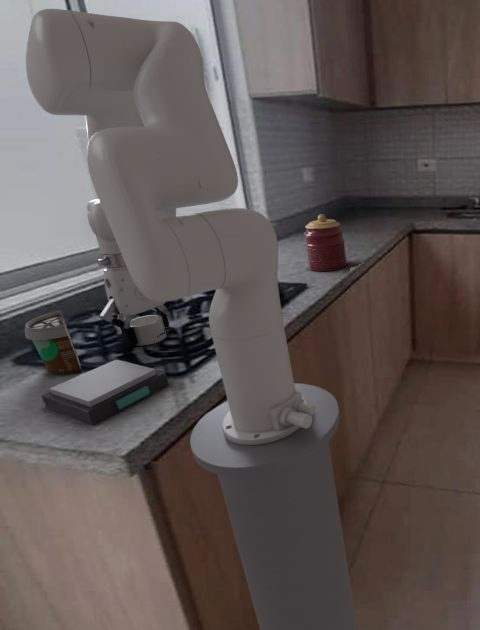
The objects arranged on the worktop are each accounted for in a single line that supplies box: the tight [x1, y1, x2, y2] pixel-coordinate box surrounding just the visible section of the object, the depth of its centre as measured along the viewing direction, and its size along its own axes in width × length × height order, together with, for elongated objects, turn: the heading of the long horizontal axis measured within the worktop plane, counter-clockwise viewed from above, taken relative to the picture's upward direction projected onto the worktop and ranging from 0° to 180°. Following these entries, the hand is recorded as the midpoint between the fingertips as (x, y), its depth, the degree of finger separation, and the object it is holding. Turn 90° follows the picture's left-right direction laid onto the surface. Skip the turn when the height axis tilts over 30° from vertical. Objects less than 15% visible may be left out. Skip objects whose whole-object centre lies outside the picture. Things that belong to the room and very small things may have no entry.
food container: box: [24, 310, 82, 376], centre depth 85 cm, size 12×6×10 cm, turn 40°
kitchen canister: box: [303, 213, 348, 272], centre depth 147 cm, size 13×13×18 cm
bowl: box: [130, 314, 168, 347], centre depth 98 cm, size 7×7×4 cm
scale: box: [41, 359, 170, 426], centre depth 75 cm, size 14×13×4 cm
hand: (148, 336), depth 98 cm, fingers closed on bowl, 6 cm apart
